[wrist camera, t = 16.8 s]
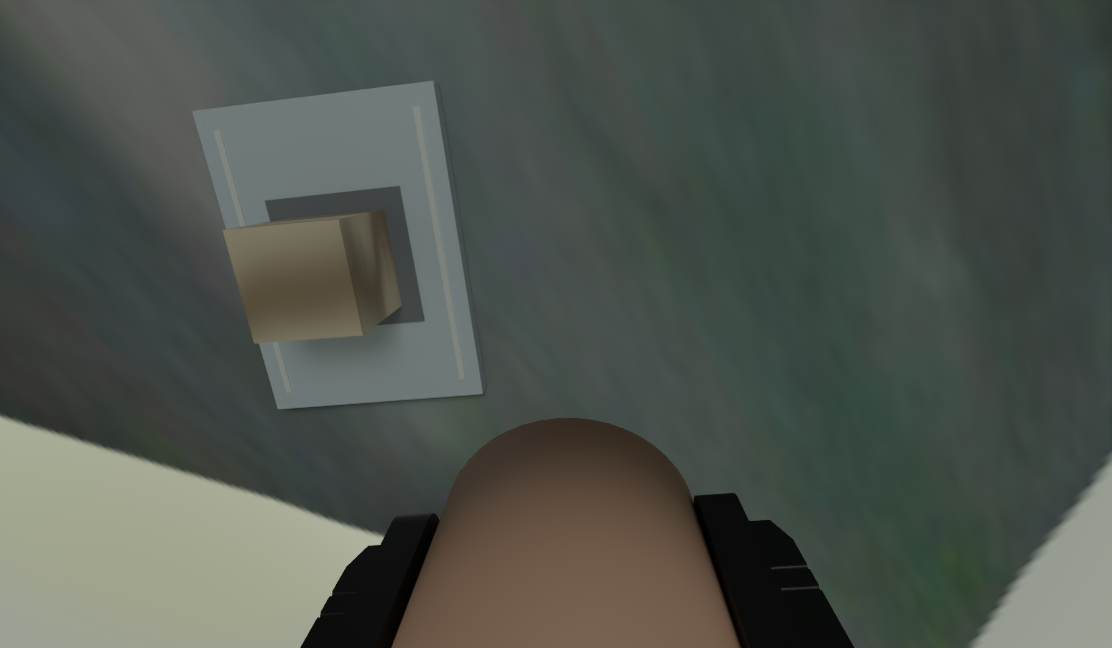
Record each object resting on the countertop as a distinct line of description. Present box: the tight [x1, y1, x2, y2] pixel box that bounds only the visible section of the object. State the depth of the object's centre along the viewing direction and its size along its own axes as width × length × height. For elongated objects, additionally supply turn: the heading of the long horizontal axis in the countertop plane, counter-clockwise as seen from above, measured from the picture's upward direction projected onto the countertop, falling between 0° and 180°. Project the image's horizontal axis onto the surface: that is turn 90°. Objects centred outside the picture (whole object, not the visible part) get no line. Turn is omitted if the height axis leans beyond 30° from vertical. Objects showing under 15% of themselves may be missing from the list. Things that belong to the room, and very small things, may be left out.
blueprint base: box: [192, 81, 486, 409], centre depth 27 cm, size 16×12×1 cm
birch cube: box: [223, 210, 402, 343], centre depth 24 cm, size 5×5×5 cm
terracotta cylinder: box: [391, 418, 742, 648], centre depth 8 cm, size 5×5×5 cm
